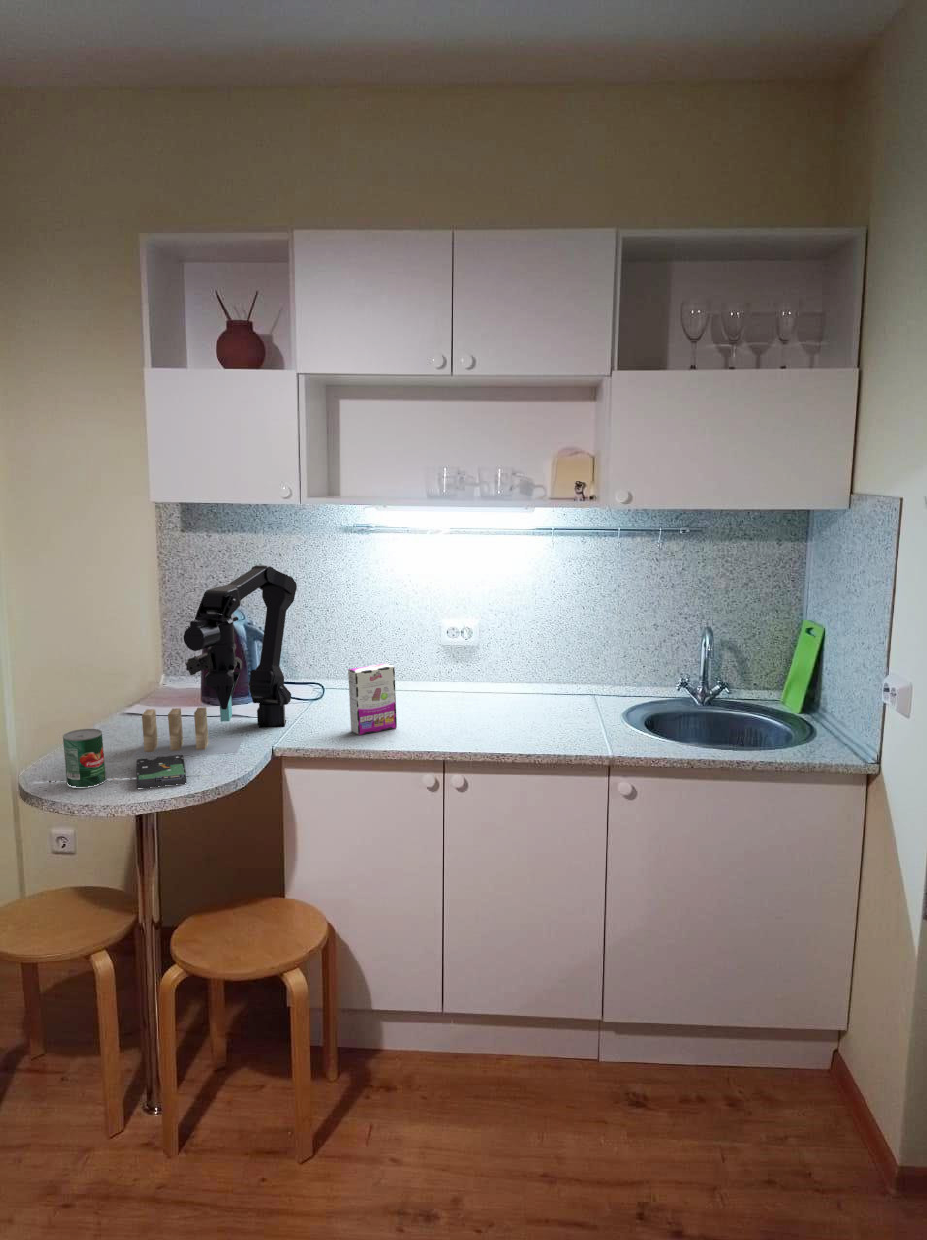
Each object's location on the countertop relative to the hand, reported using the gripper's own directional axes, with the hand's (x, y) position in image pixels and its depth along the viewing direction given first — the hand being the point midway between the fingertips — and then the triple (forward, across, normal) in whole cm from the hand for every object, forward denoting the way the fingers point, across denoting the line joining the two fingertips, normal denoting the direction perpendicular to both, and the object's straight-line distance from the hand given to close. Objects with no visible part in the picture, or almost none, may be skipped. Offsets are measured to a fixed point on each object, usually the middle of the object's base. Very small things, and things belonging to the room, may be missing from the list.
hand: (225, 706), depth 223 cm
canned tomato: (+10, +21, -27) cm, 36 cm away
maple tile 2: (+10, 0, -6) cm, 11 cm away
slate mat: (+10, 0, -9) cm, 14 cm away
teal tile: (+3, 0, 0) cm, 3 cm away
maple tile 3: (+10, 0, -12) cm, 15 cm away
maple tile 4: (+10, 0, -18) cm, 20 cm away
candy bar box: (+11, -10, +35) cm, 38 cm away
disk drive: (+11, +19, -12) cm, 25 cm away
